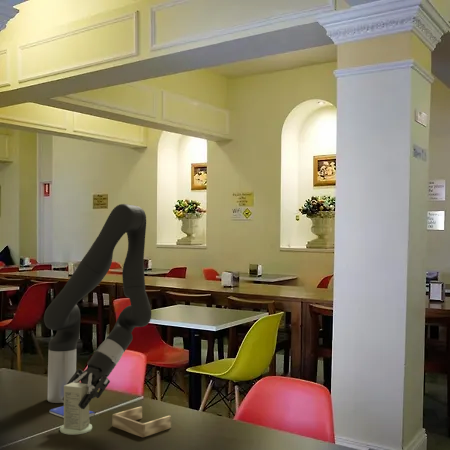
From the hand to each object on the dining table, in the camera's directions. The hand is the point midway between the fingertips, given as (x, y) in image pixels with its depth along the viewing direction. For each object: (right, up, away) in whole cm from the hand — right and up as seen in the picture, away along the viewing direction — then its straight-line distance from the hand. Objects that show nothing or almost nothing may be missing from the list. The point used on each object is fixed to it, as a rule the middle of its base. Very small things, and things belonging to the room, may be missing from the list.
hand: (72, 404), depth 161 cm
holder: (+20, -8, +4) cm, 21 cm away
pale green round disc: (+1, -7, +1) cm, 8 cm away
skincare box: (+1, -7, +1) cm, 7 cm away
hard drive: (-4, -9, +15) cm, 18 cm away
